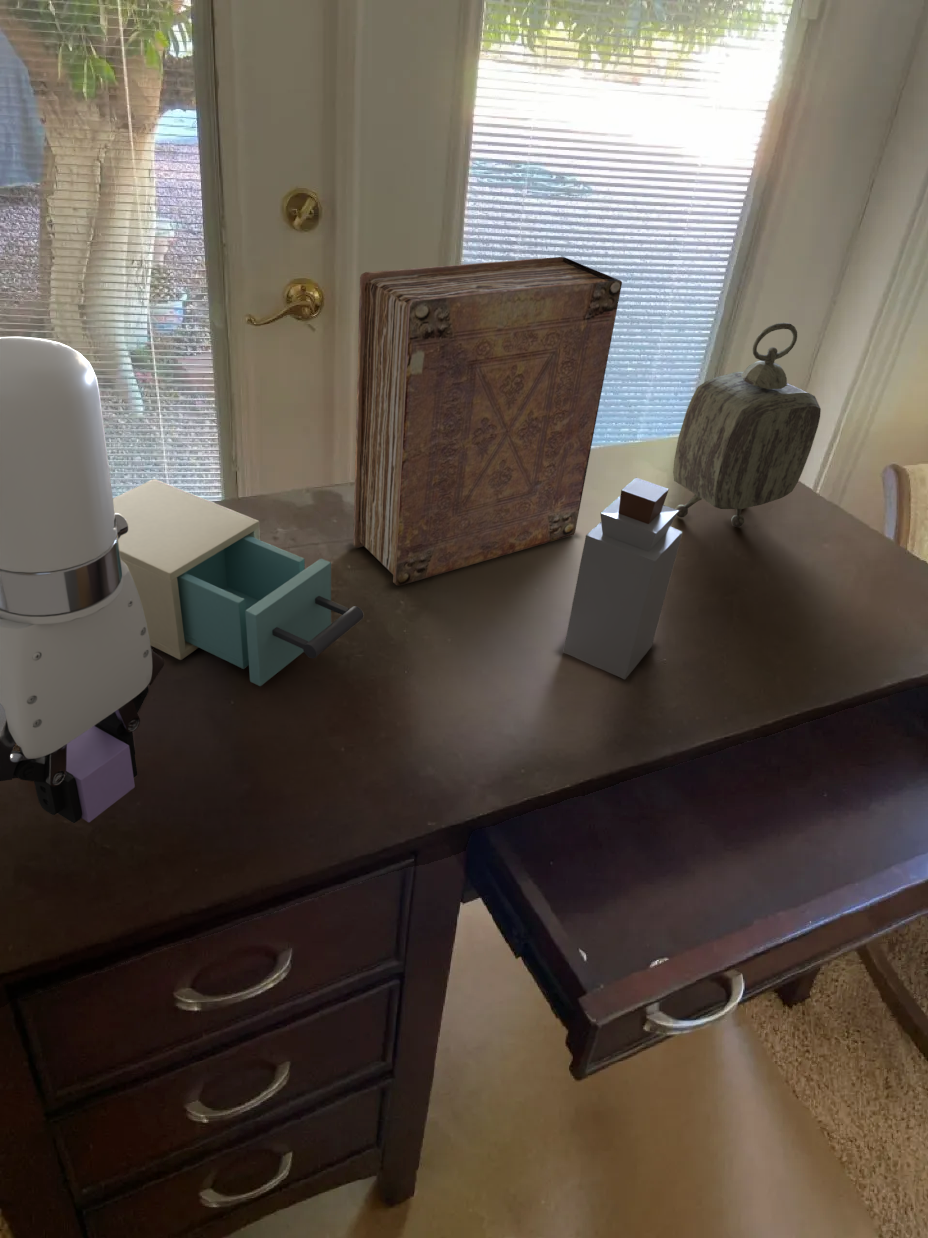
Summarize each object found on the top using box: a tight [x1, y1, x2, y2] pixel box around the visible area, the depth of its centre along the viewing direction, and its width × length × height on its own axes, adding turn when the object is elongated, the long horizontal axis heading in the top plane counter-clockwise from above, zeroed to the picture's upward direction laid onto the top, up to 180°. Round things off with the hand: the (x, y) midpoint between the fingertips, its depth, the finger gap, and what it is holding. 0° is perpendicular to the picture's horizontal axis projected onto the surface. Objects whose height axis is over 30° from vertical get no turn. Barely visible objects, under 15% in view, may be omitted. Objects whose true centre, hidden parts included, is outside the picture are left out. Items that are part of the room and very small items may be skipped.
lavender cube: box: [66, 726, 136, 823], centre depth 60 cm, size 4×4×4 cm
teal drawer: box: [177, 535, 364, 687], centre depth 81 cm, size 17×10×8 cm, turn 60°
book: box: [352, 256, 623, 586], centre depth 95 cm, size 25×9×30 cm, turn 124°
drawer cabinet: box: [113, 478, 261, 661], centre depth 86 cm, size 14×12×10 cm
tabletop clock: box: [672, 322, 822, 528], centre depth 107 cm, size 14×9×25 cm, turn 122°
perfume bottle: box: [562, 477, 684, 680], centre depth 84 cm, size 7×7×18 cm
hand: (90, 788), depth 61 cm, fingers closed on lavender cube, 4 cm apart
